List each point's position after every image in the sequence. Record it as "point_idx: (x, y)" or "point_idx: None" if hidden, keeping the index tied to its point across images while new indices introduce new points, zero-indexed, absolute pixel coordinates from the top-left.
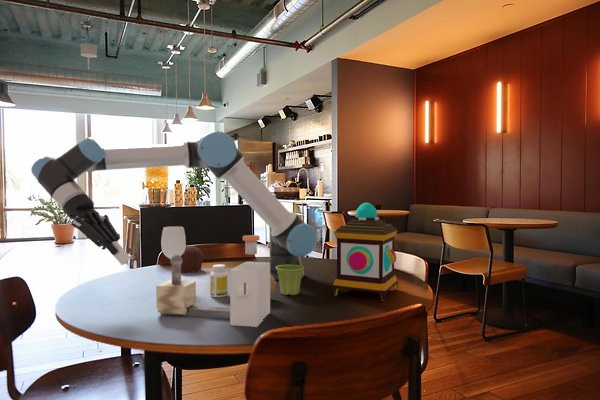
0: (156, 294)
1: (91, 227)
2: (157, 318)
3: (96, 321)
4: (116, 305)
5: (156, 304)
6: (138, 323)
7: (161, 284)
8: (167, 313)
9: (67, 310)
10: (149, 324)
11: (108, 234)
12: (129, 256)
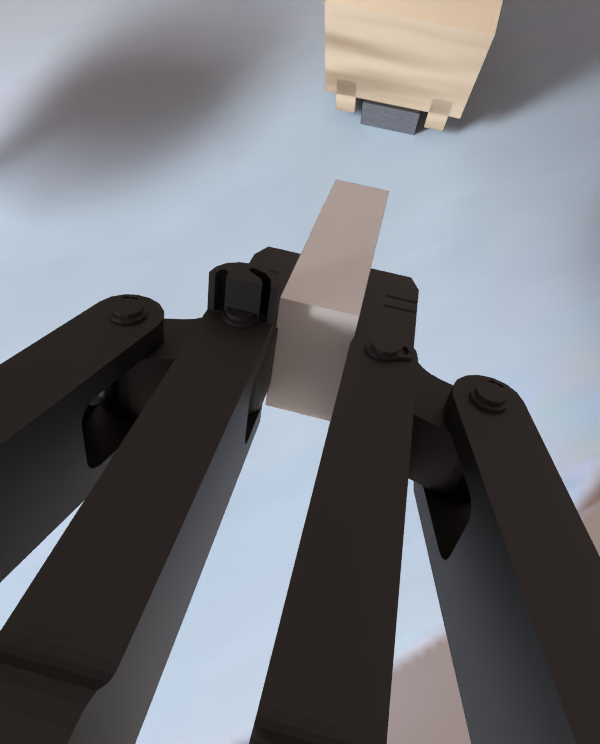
0: (478, 72)
1: (590, 730)
2: (480, 129)
3: (529, 403)
4: None
5: (463, 108)
6: (556, 190)
7: (457, 14)
8: None
9: None
10: (570, 136)
11: (232, 428)
12: (338, 186)
